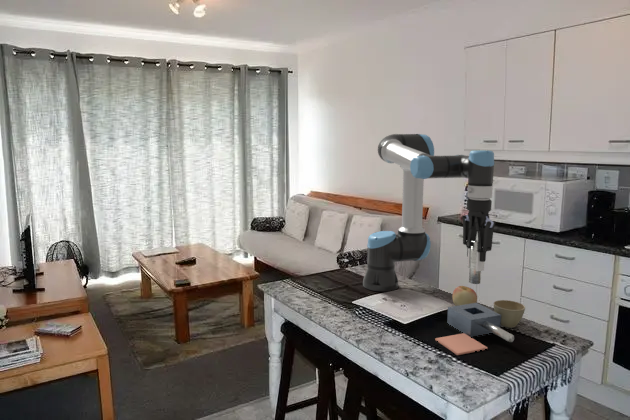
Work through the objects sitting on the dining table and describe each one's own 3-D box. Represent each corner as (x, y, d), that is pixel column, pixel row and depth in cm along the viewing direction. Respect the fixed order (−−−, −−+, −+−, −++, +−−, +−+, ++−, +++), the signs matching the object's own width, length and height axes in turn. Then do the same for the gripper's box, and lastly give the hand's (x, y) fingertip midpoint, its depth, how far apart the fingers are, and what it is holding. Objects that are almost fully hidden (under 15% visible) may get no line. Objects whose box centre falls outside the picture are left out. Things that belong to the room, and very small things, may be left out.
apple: (453, 302, 179) (454, 282, 178) (477, 306, 176) (479, 286, 174) (449, 310, 172) (451, 289, 170) (475, 314, 168) (476, 293, 167)
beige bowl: (526, 331, 152) (528, 311, 151) (495, 329, 154) (496, 309, 153) (520, 320, 162) (521, 300, 161) (490, 318, 164) (491, 298, 163)
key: (462, 281, 153) (464, 240, 151) (479, 279, 156) (481, 239, 154) (469, 285, 150) (471, 243, 148) (486, 282, 152) (489, 241, 150)
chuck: (447, 323, 159) (447, 307, 158) (475, 318, 163) (476, 302, 162) (494, 352, 138) (495, 333, 137) (525, 346, 142) (527, 327, 141)
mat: (435, 340, 146) (435, 338, 146) (463, 334, 150) (463, 333, 150) (457, 355, 136) (457, 353, 136) (487, 349, 140) (487, 347, 140)
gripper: (453, 196, 155) (450, 263, 159) (487, 202, 140) (483, 277, 143) (471, 195, 158) (468, 261, 161) (507, 201, 142) (502, 274, 146)
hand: (475, 268), depth 152 cm, fingers closed on key, 4 cm apart
